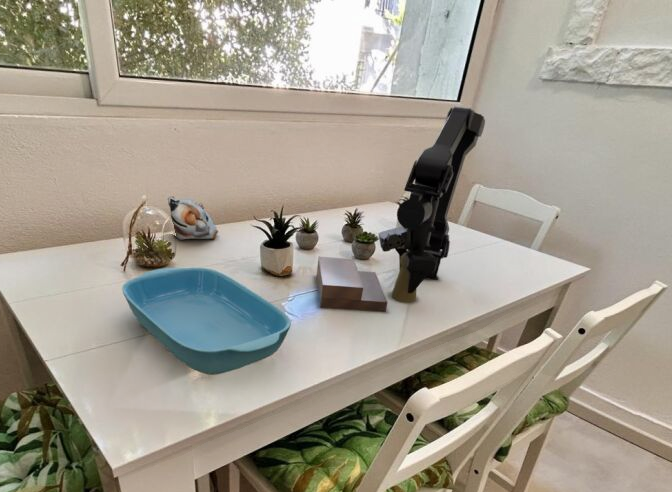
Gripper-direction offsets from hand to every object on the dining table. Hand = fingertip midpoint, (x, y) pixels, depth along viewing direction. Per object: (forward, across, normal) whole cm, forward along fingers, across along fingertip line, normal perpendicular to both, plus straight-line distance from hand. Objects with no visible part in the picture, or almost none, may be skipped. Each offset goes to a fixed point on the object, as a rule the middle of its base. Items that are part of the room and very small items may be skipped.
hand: (405, 285), depth 111 cm
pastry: (+3, -12, -31) cm, 33 cm away
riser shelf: (+3, 0, -14) cm, 14 cm away
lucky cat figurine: (+3, -33, -56) cm, 65 cm away
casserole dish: (+4, +24, -44) cm, 51 cm away
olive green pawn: (+3, 0, 0) cm, 3 cm away
